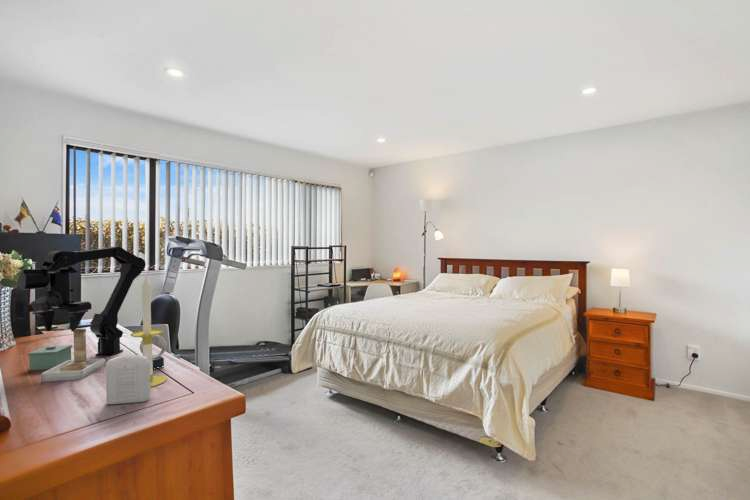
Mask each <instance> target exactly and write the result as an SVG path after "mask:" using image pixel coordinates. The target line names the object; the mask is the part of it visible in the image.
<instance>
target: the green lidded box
mask: <svg viewBox="0 0 750 500" xmlns="http://www.w3.org/2000/svg"><path fill="white" fill-rule="evenodd" d="M72 348H73V344H68V345H67V344H66V345H64V344H63V345H50V346H49V345H48V346H47V345H46V346H42V347H40V348H38V349H37V348H36V349H35V350H33V351H30V352H27V356H28V358H29V370H30V371H36V370H37V371H39V370H49V369H51V368H54V367H56V366H58V365H60V364H62V363H64V362H66V361H68V360H72Z"/></svg>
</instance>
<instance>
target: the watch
mask: <svg viewBox="0 0 750 500" xmlns="http://www.w3.org/2000/svg"><path fill="white" fill-rule="evenodd" d="M152 338H154V340H155V342H156V343H157V344H158V346H160V347H161V350H160V352H159V353H157V354H155V355H152V359H153V369H154V368H157V367H162V366H165V363H164V362H165V360H164V358H165V357H163V355H164V354H165V352H166V350H167V346H168V343H167V341H166V340H165V339H164V337H162V335H161V334H158V335H154V336H152ZM139 351H140V353H141V355H143V339H142V340H141V342H140V344H139ZM162 368H163V367H162ZM154 370H155V369H154Z"/></svg>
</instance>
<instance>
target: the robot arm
mask: <svg viewBox="0 0 750 500" xmlns="http://www.w3.org/2000/svg"><path fill="white" fill-rule="evenodd" d="M107 258H113V259H114V260H115V261H116V262H117V263H118V264H120V265H121V266H120V268H119V270H120V276H119V279H118V281H117V283H116V284H115V286H114V289H113V291H112V292H111V295H110V296H109V299H108V301H107V303H106V305H105V307H104V308H103V310H102V311H101V312H100V313H94V315H93V317H92V320H91V321H90V322H89V324H90V327H89V330H90V331H91V332H92V334H94V335H95V337H96V338H97V341H98V342H97V353H95V354H94V355H95V356H101V357H102V356H105V357H106V356H107V357H108V356H114V355H117V354H119V353H122V352H124V349H121V341H120V340H121V338H122V337H123V334H124V332H123V331H122V330H121V329H120V328H118V327H117V326H118V322H119V317H118V314H119V311H120V309H121V308H122V305H123V303H124V301H125V299H126V297H127V294H128V293H129V290H130V289H131V287H132V284H133V282H134V281H135V279H136V278H138V276H140V275H141V273H142V272H143V271H144V269H145V268H146V265H147V263H146V261H145V260H144V258H142V257H139V256H137V255H135V254H133V253H131V251H128V250H126V249H124V248H123V247H121V246H110V247H105V248H97V249H96V248H94V249H86V250H80V251H78V250H75V251H73V250H52V251H50V252H48V254H46V255H45V260H44V261H43V263H41V265H40V266H39V267H38V268H32V269H30V268H21V269H20V273H19V276H18V278H17V284H18V285H17V286H18V288H19V289H20V290H21V291H25V290H27V291H28V290H37V289H45V288H46V286H48V290H45V292H44V295H43V296H41V297H39V298H37V299H35V300H33V301H32V302H30V304H29V305H28V307H27V311H28V313H29V312H30V313H31V314H33V315H35V316H37V317H38V318H39V319H40V320H41V322H42V324H43V326H44V329H45V331H46V332H50V331H52V328H53V321H54V316H55V311H56V310H67V311H68V312H66V315H68V317H69V322H70V324H69V325H70V330H71V332H73V330H76V329H78V326H79V324H80V322H81V320H82V319H83V317H84V315H86V313H87V312H89V311H90V310H92V303H91V302H90V301H77V302H76V301H75V300H74V299H71V297H72V296H71V295H72V294H71V292H72V293H73V292H74V291H75V290H74V288H71V274H77V273H78V270H76V269H75V268H73V266H74V265H77V264H79V263H82V262H86V261H87V262H88V261H96V260H101V259H107Z"/></svg>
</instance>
